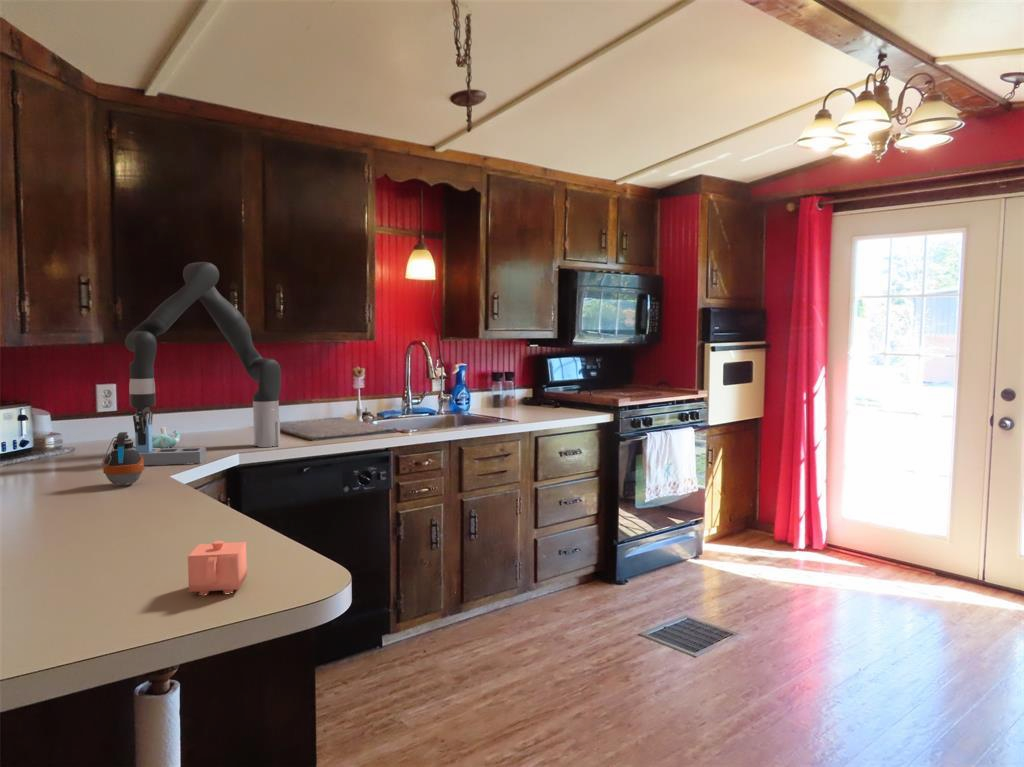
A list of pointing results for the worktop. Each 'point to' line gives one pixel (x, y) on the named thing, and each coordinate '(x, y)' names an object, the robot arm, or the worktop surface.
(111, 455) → the grenade
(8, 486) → the worktop surface
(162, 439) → the figurine
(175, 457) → the panel
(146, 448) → the plug
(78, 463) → the worktop surface
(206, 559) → the pink cube teapot
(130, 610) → the worktop surface
